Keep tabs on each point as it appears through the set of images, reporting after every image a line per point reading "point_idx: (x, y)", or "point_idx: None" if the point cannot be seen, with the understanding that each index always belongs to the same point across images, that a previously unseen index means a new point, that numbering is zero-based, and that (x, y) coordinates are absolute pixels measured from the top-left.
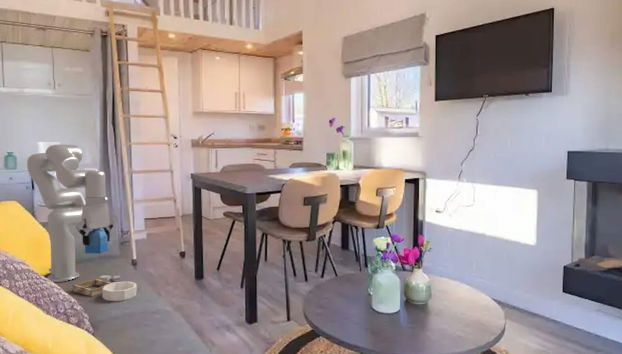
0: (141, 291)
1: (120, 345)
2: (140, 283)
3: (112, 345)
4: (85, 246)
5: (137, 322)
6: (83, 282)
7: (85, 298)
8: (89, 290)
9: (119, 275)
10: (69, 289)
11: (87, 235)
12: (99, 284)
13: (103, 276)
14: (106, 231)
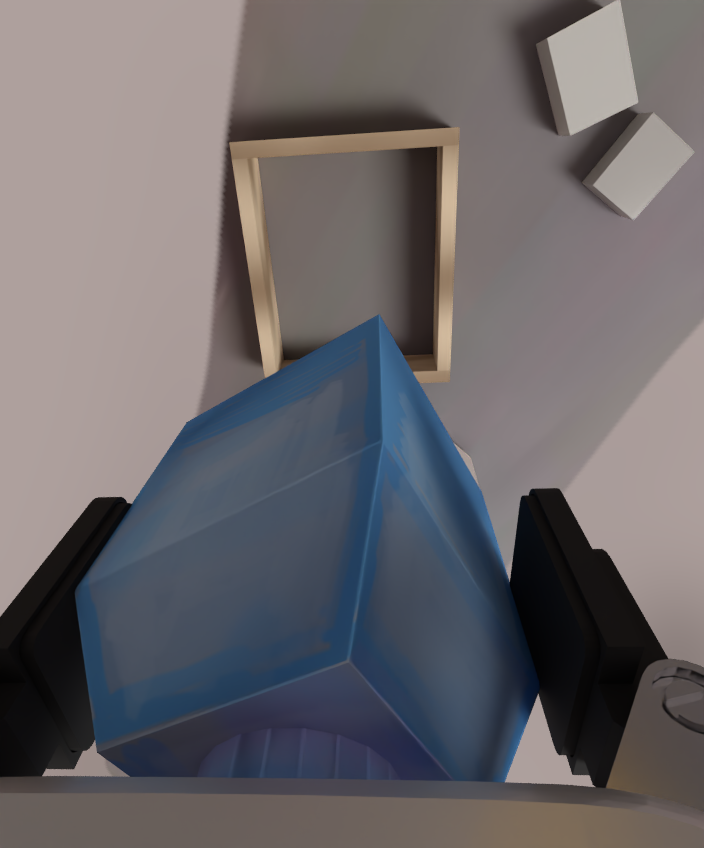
0: (499, 511)
1: (125, 773)
2: (626, 393)
3: (108, 762)
4: (151, 483)
5: None
6: (325, 147)
7: (230, 370)
8: (264, 360)
9: (689, 148)
10: (240, 65)
11: (48, 750)
12: (437, 207)
13: (588, 52)
14: (587, 743)
